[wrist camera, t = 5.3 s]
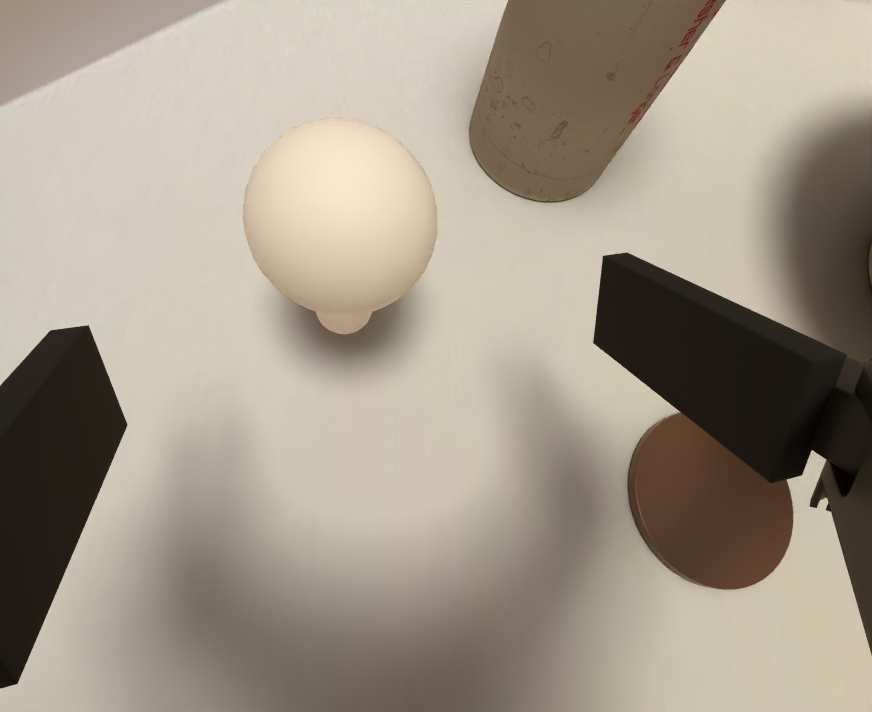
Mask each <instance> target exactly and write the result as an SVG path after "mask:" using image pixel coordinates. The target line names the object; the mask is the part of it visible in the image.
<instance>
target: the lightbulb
mask: <svg viewBox="0 0 872 712" xmlns="http://www.w3.org/2000/svg"><path fill="white" fill-rule="evenodd" d="M243 221H244V230H245V235H246V238H247V241H248V244H249V247H250V250H251V253H252V255H253V258H254V260H255V262H256V263H257V265H258V266H259V268H260V270H261V271H262V273H263V274H264V275H265V276H266V277H267V278H268V279H269V280H270V282H271V283H272V284H273V285H274V286H275V287H276V288H277V289H278V290H279V291H280V292H281V293H282V294H284V295H285V296H287V297H288V298H289V299H291V300H292V301H294V302H295V303H297V304H299V305H301V306H304V307H306V308H308V309H310V310H313V311H315V312H316V315H317V317H318V319H319V321H320V322H321V324H322V325H323V326H324V327H325V328H327V329H328V330H330V331H332V332H334V333H338V334H350V333H354V332H356V331H358V330H360V329H361V328H363V327H364V326H365V325H366V324H367V322H368V321H369V319H370V316H371V314H372V312H373V311H375V310H379V309H382V308H383V307H385V306H387V305H389V304H391V303H393V302H395V301H396V300H397V299H399V298H400V297H401V296H402V295H403V294H405V293H406V292H407V291H408V290H409V289H410V288H411V287H412V286H413V285H414V284H415V283H416V281H417V280H418V279H419V278H420V276H421V275H422V274H423V273H424V271H425V269H426V267H427V265H428V263H429V261H430V258H431V256H432V253H433V250H434V245H435V241H436V237H437V207H436V203H435V198H434V193H433V190H432V187H431V184H430V182H429V180H428V178H427V175H426V173H425V171H424V169H423V168H422V166H421V165H420V163H419V162H418V161H417V159H416V158H415V157H414V155H413V154H412V153H411V152H410V151H409V150H408V149H407V148H406V147H405V146H404V145H403V144H402V143H401V142H400V141H398V140H397V139H396V138H394V137H393V136H391V135H390V134H388V133H387V132H385V131H383V130H381V129H379V128H377V127H375V126H372V125H370V124H367V123H363V122H360V121H356V120H351V119H343V118H332V119H322V120H317V121H312V122H308V123H305V124H303V125H300V126H298V127H295V128H293V129H291V130H290V131H288V132H287V133H285V134H283V135H282V136H280V137H279V138H278V139H277V140H276V141H275V142H274V143H273V144H272V145H271V146H270V147H269V148H268V149H267V150H265V151H264V153H263V154H262V155H261V157H260V158H259V160H258V161H257V163H256V164H255V166H254V169H253V171H252V174H251V176H250V179H249V182H248V184H247V187H246V191H245V198H244V205H243Z"/></svg>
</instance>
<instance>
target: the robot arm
mask: <svg viewBox="0 0 872 712" xmlns="http://www.w3.org/2000/svg"><path fill="white" fill-rule="evenodd" d="M593 343H594V344H595V345H597V346H598V347H599V348H600V349H602V350H603V351H604V352H605V353H607V354H608V355H609V356H610V357H612V358H613V359H614V360H615V361H617V362H618V363H619V364H621V365H622V366H623V367H624V368H626V369H627V370H628V371H629V372H631V373H632V374H633V375H634V376H636V377H637V378H638V379H639V380H641V381H642V382H643V383H645V384H646V385H647V386H648V387H650V388H651V389H652V390H653V391H655V392H656V393H657V394H658V395H660V396H661V397H662V398H663V399H665V400H666V401H667V402H669V403H670V404H671V405H672V406H674V407H675V408H676V409H677V410H679V411H680V412H681V413H682V414H684V415H685V416H686V417H688V418H689V419H690V420H691V421H693V422H694V423H695V424H696V425H698V426H699V427H700V428H701V429H703V430H704V431H705V432H706V433H708V434H709V435H710V436H712V437H713V438H714V439H715V440H717V441H718V442H719V443H720V444H722V445H723V446H724V447H725V448H727V449H728V450H729V451H730V452H732V453H733V454H734V455H736V456H737V457H738V458H739V459H741V460H742V461H743V462H744V463H746V464H747V465H748V466H749V467H751V468H752V469H753V470H754V471H756V472H757V473H758V474H760V475H761V476H762V477H763V478H765V479H766V480H767V481H768V482H770V483H775V482H779V481H782V480H786V479H790V478H794V477H797V476H801V475H802V474H803V471H804V468H805V466H806V463H807V460H808V458H809V455H810V452H811V450H813V451H815V452H816V453H818V454H819V455H820V456H822V457H823V458H825V459H826V462H825V465H824V467H823V470H822V472H821V475H820V477H819V480H818V482H817V485H816V488H815V490H814V493H813V495H812V498H811V501H810V507H814V508H817V506H818V503H819V501H820V500H821V499H823V498H827V499H828V502H829V503H828V505H827V508H826V510H827V511H831V513H832V516H833V520H834V523H835V527H836V531H837V534H838V538H839V541H840V545H841V548H842V552H843V555H844V559H845V562H846V566H847V569H848V573H849V576H850V580H851V584H852V587H853V591H854V594H855V598H856V601H857V605H858V608H859V612H860V615H861V619H862V622H863V626H864V629H865V633H866V637H867V640H868V644H869V647H870V651H871V654H872V359H871V360H869V361H867V362H866V363H865V364H864V365H863V364H861V363H859V362H857V361H855V360H853V359H851V358H848V357H847V354H845V353H842V352H840V351H838V350H836V349H834V348H832V347H830V346H827V345H825V344H823V343H821V342H819V341H817V340H814V339H812V338H810V337H808V336H806V335H804V334H801V333H799V332H797V331H795V330H793V329H791V328H788V327H786V326H784V325H782V324H780V323H778V322H776V321H773V320H771V319H769V318H767V317H765V316H763V315H760V314H758V313H756V312H754V311H752V310H750V309H747V308H745V307H743V306H741V305H739V304H737V303H735V302H732V301H730V300H728V299H726V298H724V297H722V296H719V295H717V294H715V293H713V292H711V291H709V290H706V289H704V288H702V287H700V286H698V285H696V284H693V283H691V282H689V281H687V280H685V279H683V278H681V277H678V276H676V275H674V274H672V273H670V272H668V271H665V270H663V269H661V268H659V267H657V266H655V265H652V264H650V263H648V262H646V261H644V260H642V259H640V258H637V257H635V256H633V255H631V254H629V253H621V254H614V255H606V256H603V262H602V271H601V280H600V288H599V297H598V306H597V315H596V324H595V332H594V341H593ZM126 427H127V422H126V420H125V417H124V415H123V412H122V410H121V407H120V405H119V402H118V399H117V397H116V394H115V392H114V389H113V387H112V384H111V382H110V379H109V376H108V374H107V371H106V369H105V366H104V364H103V361H102V359H101V356H100V353H99V351H98V348H97V346H96V343H95V341H94V338H93V336H92V333H91V330H90V328H89V325H88V326H80V327H73V328H65V329H58V330H51V331H50V332H49V333H48V334H47V335H46V336H45V337H44V338H43V339H42V340H41V342H40V343H39V344H38V345H37V346H36V347H35V348H34V349H33V350H32V351H31V353H30V354H29V355H28V356H27V357H26V358H25V359H24V360H23V361H22V362H21V364H20V365H19V366H18V367H17V368H16V369H15V370H14V371H13V372H12V373H11V375H10V376H9V377H8V378H7V379H6V380H5V381H4V382H3V383H2V384H1V386H0V688H4V687H8V686H11V685H15V684H17V683H18V681H19V679H20V676H21V674H22V672H23V669H24V667H25V665H26V662H27V660H28V658H29V655H30V653H31V651H32V648H33V646H34V644H35V641H36V639H37V636H38V634H39V632H40V629H41V627H42V625H43V622H44V620H45V618H46V615H47V613H48V611H49V608H50V606H51V604H52V601H53V599H54V596H55V594H56V592H57V589H58V587H59V585H60V582H61V580H62V578H63V575H64V573H65V571H66V568H67V566H68V564H69V561H70V559H71V557H72V554H73V552H74V549H75V547H76V545H77V542H78V540H79V538H80V535H81V533H82V531H83V528H84V526H85V524H86V521H87V519H88V517H89V514H90V512H91V510H92V507H93V505H94V502H95V500H96V498H97V495H98V493H99V491H100V488H101V486H102V484H103V481H104V479H105V477H106V474H107V472H108V470H109V467H110V465H111V462H112V460H113V458H114V455H115V453H116V451H117V448H118V446H119V444H120V441H121V439H122V437H123V434H124V432H125V430H126Z"/></svg>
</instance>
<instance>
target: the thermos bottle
mask: <svg viewBox="0 0 872 712" xmlns="http://www.w3.org/2000/svg"><path fill="white" fill-rule="evenodd" d="M725 1H726V0H508V3H507V6H506V8H505V11H504V14H503V17H502V20H501V23H500V26H499V29H498V32H497V35H496V39H495V42H494V45H493V48H492V52H491V55H490V58H489V61H488V65H487V68H486V71H485V74H484V78H483V81H482V84H481V87H480V91H479V94H478V97H477V100H476V104H475V107H474V110H473V114H472V117H471V122H470V129H469V131H470V142H471V145H472V148H473V151H474V154H475V156H476V158H477V160H478V161H479V163H480V165H481V166H482V167H483V169H484V170H485V171H486V172H487V174H488V175H489V176H490V177H491V178H493V179H494V180H495V181H496V182H497V183H498V184H499V185H501V186H503V187H504V188H506V189H508V190H509V191H511V192H513V193H515V194H517V195H520V196H522V197H525V198H529V199H533V200H537V201H551V202H553V201H561V200H567V199H569V198H572V197H575V196H578V195H580V194H581V193H583V192H584V191H586V190H588V189H589V188H590V187H591V186H592V185H593V184H594V183H595V182H596V180H597V179H598V178H599V176H600V175H601V174H602V172H603V171H604V169H605V168H606V167H607V165H608V164H609V163H610V161H611V160H612V158H613V157H614V156H615V154H616V153H617V151H618V150H619V149H620V147H621V146H622V145H623V143H624V142H625V140H626V139H627V138H628V136H629V135H630V134H631V132H632V131H633V129H634V128H635V127H636V125H637V124H638V122H639V121H640V120H641V118H642V117H643V116H644V114H645V113H646V111H647V110H648V109H649V107H650V106H651V104H652V103H653V102H654V100H655V99H656V98H657V96H658V95H659V93H660V92H661V91H662V89H663V88H664V87H665V85H666V84H667V82H668V81H669V80H670V78H671V77H672V75H673V74H674V73H675V71H676V70H677V69H678V67H679V66H680V64H681V63H682V62H683V60H684V59H685V57H686V56H687V55H688V53H689V52H690V50H691V49H692V48H693V46H694V45H695V43H696V42H697V41H698V39H699V38H700V36H701V35H702V33H703V32H704V31H705V29H706V28H707V26H708V25H709V23H710V22H711V21H712V19H713V18H714V16H715V15H716V13H717V12H718V11H719V9H720V8H721V6H722V5H723V4H724V2H725Z"/></svg>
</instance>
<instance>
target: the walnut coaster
mask: <svg viewBox="0 0 872 712" xmlns="http://www.w3.org/2000/svg"><path fill="white" fill-rule="evenodd" d="M629 497H630V503H631V507H632V512H633V515H634V518H635V521H636V524H637V526H638V528H639V530H640V532H641V534H642V536H643V538H644V539H645V541H646V542H647V544H648V546H649V547H650V548H651V550H652V551H653V552H654V553H655V555H656V556H657V557H658V558H659V559H660V560H661V561H662V562H663V563H664V564H665V565H666V566H667V567H669V568H670V569H671V570H672V571H674V572H675V573H676V574H678V575H680V576H681V577H683V578H684V579H686V580H689V581H691V582H693V583H695V584H698V585H702V586H705V587H710V588H717V589H724V590H727V589H740V588H745V587H748V586H751V585H754V584H756V583H758V582H759V581H761V580H763V579H764V578H766V577H767V576H768V575H769V574H771V573H772V572H773V571H774V569H775V568H776V567H777V566H778V565H779V563H780V562H781V560H782V559H783V557H784V555H785V553H786V551H787V548H788V546H789V543H790V539H791V535H792V528H793V506H792V499H791V494H790V490H789V486H788V483H787V480H782V481H779V482H775V483H770V482H768V481H767V480H766V479H765V478H763V477H762V476H761V475H760V474H758V473H757V472H756V471H754V470H753V469H752V468H751V467H749V466H748V465H747V464H746V463H744V462H743V461H742V460H741V459H739V458H738V457H737V456H736V455H734V454H733V453H732V452H730V451H729V450H728V449H727V448H725V447H724V446H723V445H722V444H720V443H719V442H718V441H717V440H715V439H714V438H713V437H712V436H710V435H709V434H708V433H706V432H705V431H704V430H703V429H701V428H700V427H699V426H698V425H696V424H695V423H694V422H693V421H691V420H690V419H689V418H688V417H686V416H685V415H684V414H682V413H678V414H675V415H672V416H670V417H667V418H665V419H663V420H661V421H660V422H658V423H657V424H655V425H654V426H653V427H652V428H651V429H650V430H648V432H647V433H646V434H645V435H644V436H643V438H642V439H641V441H640V443H639V444H638V446H637V448H636V450H635V453H634V455H633V458H632V462H631V466H630V472H629Z"/></svg>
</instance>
